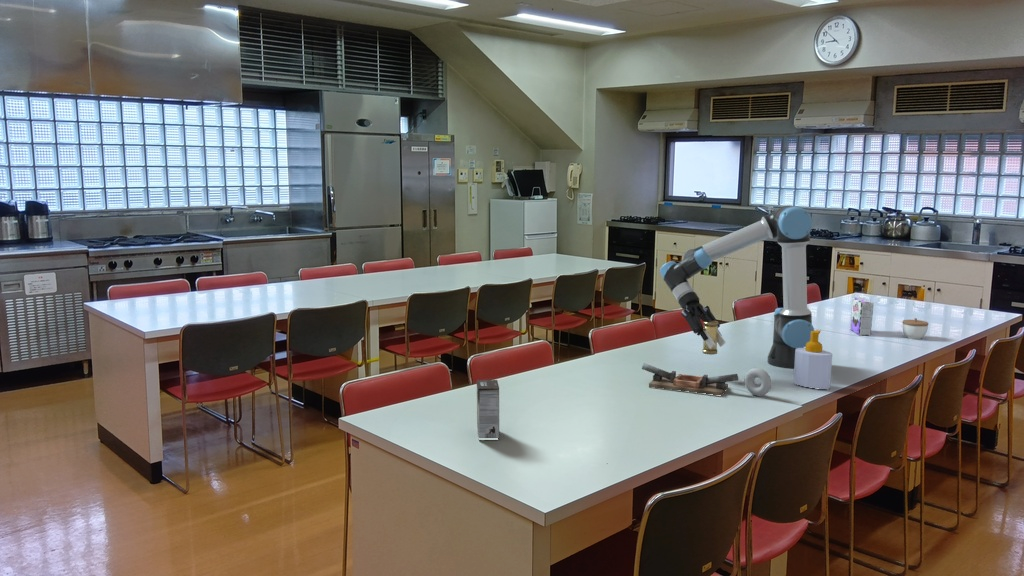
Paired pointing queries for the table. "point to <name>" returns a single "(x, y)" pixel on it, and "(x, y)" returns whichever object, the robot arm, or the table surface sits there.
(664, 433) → the table surface
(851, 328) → the candy box
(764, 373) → the donut
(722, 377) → the shaft stand
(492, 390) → the coffee box
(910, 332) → the lidded jar
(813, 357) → the soap bottle
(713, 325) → the cylinder
